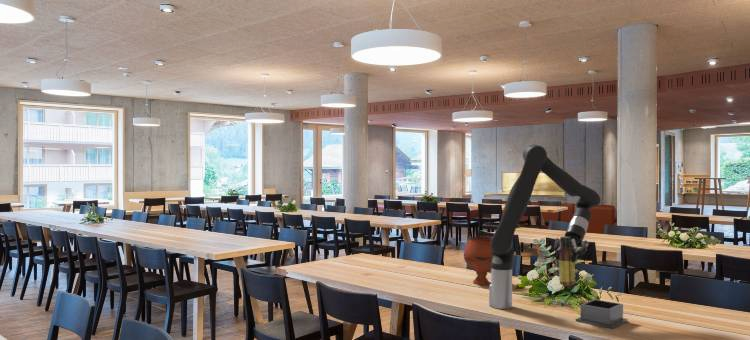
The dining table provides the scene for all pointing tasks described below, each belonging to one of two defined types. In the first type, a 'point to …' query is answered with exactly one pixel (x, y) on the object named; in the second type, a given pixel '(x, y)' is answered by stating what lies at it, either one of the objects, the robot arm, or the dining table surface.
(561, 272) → the sauce bottle
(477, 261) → the goblet
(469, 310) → the dining table surface
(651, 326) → the dining table surface
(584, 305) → the box
